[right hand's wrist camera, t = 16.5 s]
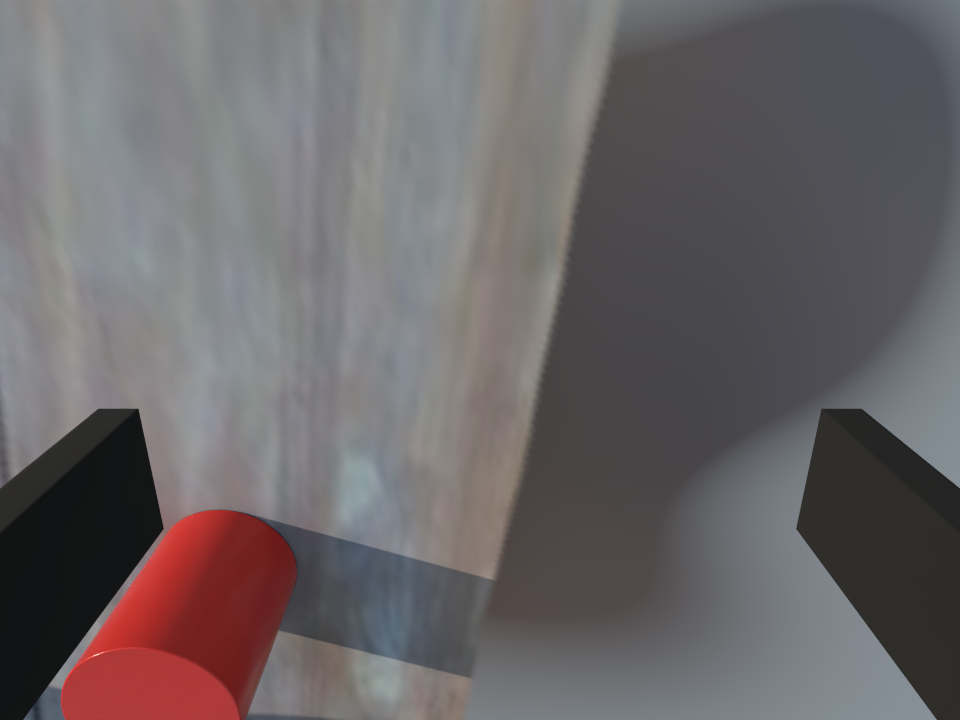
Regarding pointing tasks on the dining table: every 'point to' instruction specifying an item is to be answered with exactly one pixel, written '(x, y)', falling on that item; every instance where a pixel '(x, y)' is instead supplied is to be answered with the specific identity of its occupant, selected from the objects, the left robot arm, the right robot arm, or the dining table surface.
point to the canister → (189, 626)
